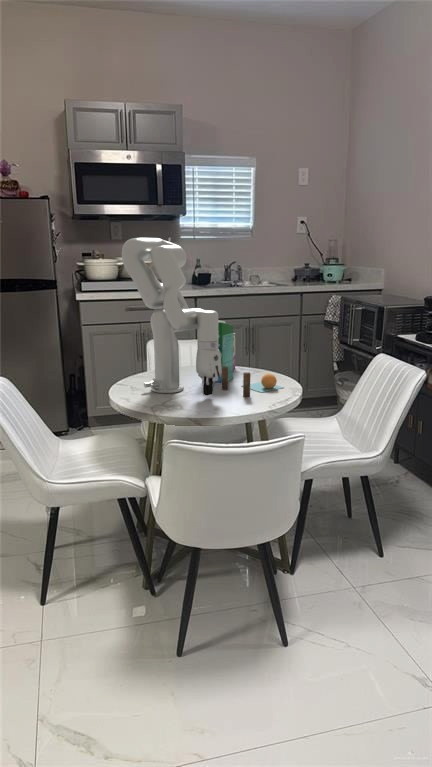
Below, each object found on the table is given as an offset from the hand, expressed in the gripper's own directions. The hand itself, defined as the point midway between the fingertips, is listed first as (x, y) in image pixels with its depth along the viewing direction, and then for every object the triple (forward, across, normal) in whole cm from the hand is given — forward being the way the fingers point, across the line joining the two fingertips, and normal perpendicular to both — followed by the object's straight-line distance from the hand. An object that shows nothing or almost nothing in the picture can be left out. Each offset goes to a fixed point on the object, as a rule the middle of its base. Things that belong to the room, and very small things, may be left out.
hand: (208, 394), depth 193 cm
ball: (-2, -3, -27) cm, 28 cm away
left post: (+2, +7, -13) cm, 15 cm away
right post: (+2, -7, -13) cm, 15 cm away
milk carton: (+2, +21, -21) cm, 30 cm away
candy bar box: (+2, +32, -35) cm, 47 cm away
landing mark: (+2, 0, -27) cm, 27 cm away
